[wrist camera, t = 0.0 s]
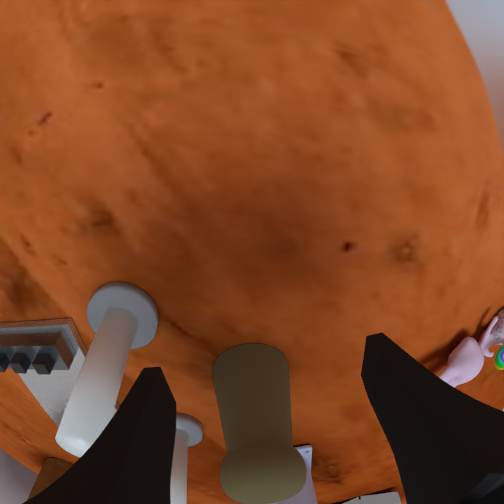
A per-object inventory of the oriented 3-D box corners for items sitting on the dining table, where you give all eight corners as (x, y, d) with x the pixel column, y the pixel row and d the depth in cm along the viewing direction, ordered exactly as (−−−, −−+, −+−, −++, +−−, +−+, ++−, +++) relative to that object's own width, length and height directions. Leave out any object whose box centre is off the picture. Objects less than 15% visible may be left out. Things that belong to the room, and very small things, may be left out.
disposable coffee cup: (26, 454, 31) (7, 517, 20) (55, 447, 29) (35, 523, 19) (73, 484, 35) (62, 544, 24) (109, 480, 33) (99, 550, 23)
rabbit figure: (507, 280, 25) (401, 369, 25) (547, 306, 20) (439, 412, 19) (503, 321, 28) (407, 402, 28) (537, 347, 23) (438, 440, 22)
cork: (284, 392, 26) (308, 507, 16) (213, 395, 25) (215, 514, 15) (293, 341, 23) (329, 473, 13) (210, 343, 23) (209, 482, 13)
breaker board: (133, 427, 27) (128, 460, 23) (62, 423, 27) (52, 451, 23) (71, 317, 21) (52, 353, 17) (-6, 323, 21) (-27, 351, 17)
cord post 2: (207, 438, 28) (209, 535, 18) (160, 439, 28) (152, 533, 18) (195, 410, 26) (193, 521, 16) (143, 413, 26) (128, 518, 16)
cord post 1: (166, 337, 22) (146, 474, 12) (105, 342, 22) (64, 466, 12) (147, 277, 20) (101, 419, 10) (81, 286, 20) (12, 410, 10)
